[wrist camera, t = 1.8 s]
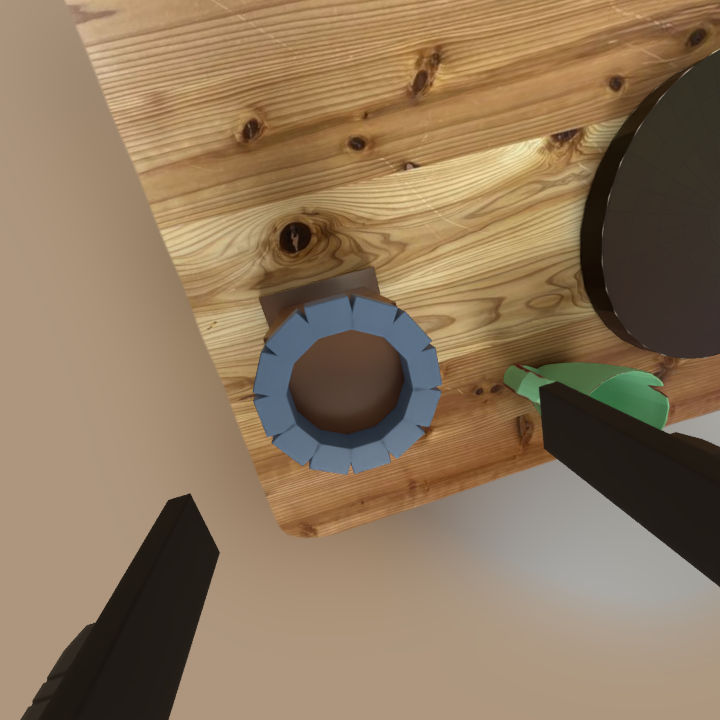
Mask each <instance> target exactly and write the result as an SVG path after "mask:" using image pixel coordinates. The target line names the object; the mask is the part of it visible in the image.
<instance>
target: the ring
mask: <svg viewBox="0 0 720 720" xmlns="http://www.w3.org/2000/svg"><path fill="white" fill-rule="evenodd" d="M304 312H305V315H304V314H303V313H302V312H301V311H300V310H299V309H298V308H296V309H295V310H294V311H293V312H292V314H291V315H290V316H289V317H288V318H287V319H286V320H285V321H284V322H283V323H282V324H281V325H280V326H279V327H278V328H277V329H276V330H275V331H274V332H273V333H272V334H271V335H270V336H269V338H268V340H267V342H266V344H265V346H264V347H263V349H262V351H261V354H260V359H259V364H258V368H257V373H256V378H255V383H254V387H253V393H256V395H255V397H254V400H253V402H254V404H255V407H256V409H257V412H258V415H259V417H260V420H261V422H262V425H263V427H264V430H265V433H266V435H267V437H270V436H273V440H272V444H274V445H275V446H276V447H278V448H279V449H280V450H282V451H283V452H284V453H286V454H287V455H288V456H290V457H291V458H292V459H293V460H295V461H296V462H297V463H299V464H300V465H301V466H303V465H304V464H305V463H307V462H308V461H309V469H313V470H319V471H326V472H333V473H339V474H346V475H347V474H348V471H349V468H350V464H351V465H352V468H353V472H354V474H356V473H360V472H363V471H366V470H369V469H372V468H375V467H379V466H382V465H385V464H388V463H391V460H390V456H389V452H390V453H391V454H392V455H393V456H394V457H396V458H399V457H400V456H401V455H402V454H403V453H404V452H405V451H406V450H407V449H408V448H409V447H411V446H412V445H413V444H414V443H415V442H416V441H417V440H418V439H419V438H420V437H421V436H422V435H423V434H424V431H423V429H422V428H421V426H425V427H429V426H430V423H431V420H432V418H433V415H434V412H435V409H436V406H437V404H438V401H439V398H440V395H441V391H440V390H439V389H438V388H437V387H436V386H440V385H442V381H441V375H440V370H439V364H438V359H437V354H436V348H435V347H434V346H432V345H431V344H429V343H430V342H431V341H432V340H431V339H430V338H429V337H428V336H427V335H426V333H425V332H424V331H423V330H422V329H421V328H420V327H419V326H418V325H417V324H416V323H415V322H414V321H413V319H412V318H411V317H410V316H409V315H408V314H407V313H406V312H405V311H403V310H401V309H399V308H397V307H396V306H394V305H392V304H390V303H388V302H384V301H380V300H377V299H373V298H369V297H366V296H362V295H358V294H355V293H352V294H351V298H350V302H349V298H348V296H347V295H346V294H345V293H342V294H338V295H334V296H331V297H327V298H323V299H320V300H316V301H312V302H309V303H305V304H304ZM351 329H352V330H356V331H360V332H364V333H368V334H372V335H376V336H380V337H384V338H385V339H386V340H387V341H388V342H389V343H390V344H391V345H392V346H393V347H394V348H395V349H396V350H397V351H398V352H399V356H400V361H401V365H402V370H403V374H404V379H405V380H404V383H403V387H402V390H401V393H400V396H399V399H398V402H397V405H396V407H395V408H394V409H393V410H392V411H391V412H390V413H389V414H388V415H387V416H386V417H385V418H384V419H383V420H382V421H380V422H379V423H378V424H377V425H376V426H374V427H371V428H368V429H365V430H361V431H358V432H355V433H351V434H348V435H347V434H341V433H336V432H330V431H325V430H319V429H318V428H317V427H316V426H315V425H313V424H312V423H311V422H310V421H308V420H307V419H306V418H305V417H303V416H302V415H301V414H300V413H299V412H297V409H296V406H295V403H294V400H293V397H292V395H291V392H290V389H289V382H290V378H291V373H292V369H293V365H294V363H295V362H296V361H297V360H298V359H299V358H300V357H301V356H302V355H303V354H304V353H305V352H306V351H307V350H308V349H309V348H310V347H311V346H312V345H313V344H314V343H315V342H316V341H317V340H318V339H319V338H323V337H327V336H330V335H334V334H337V333H341V332H344V331H348V330H351ZM388 451H389V452H388Z"/></svg>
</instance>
